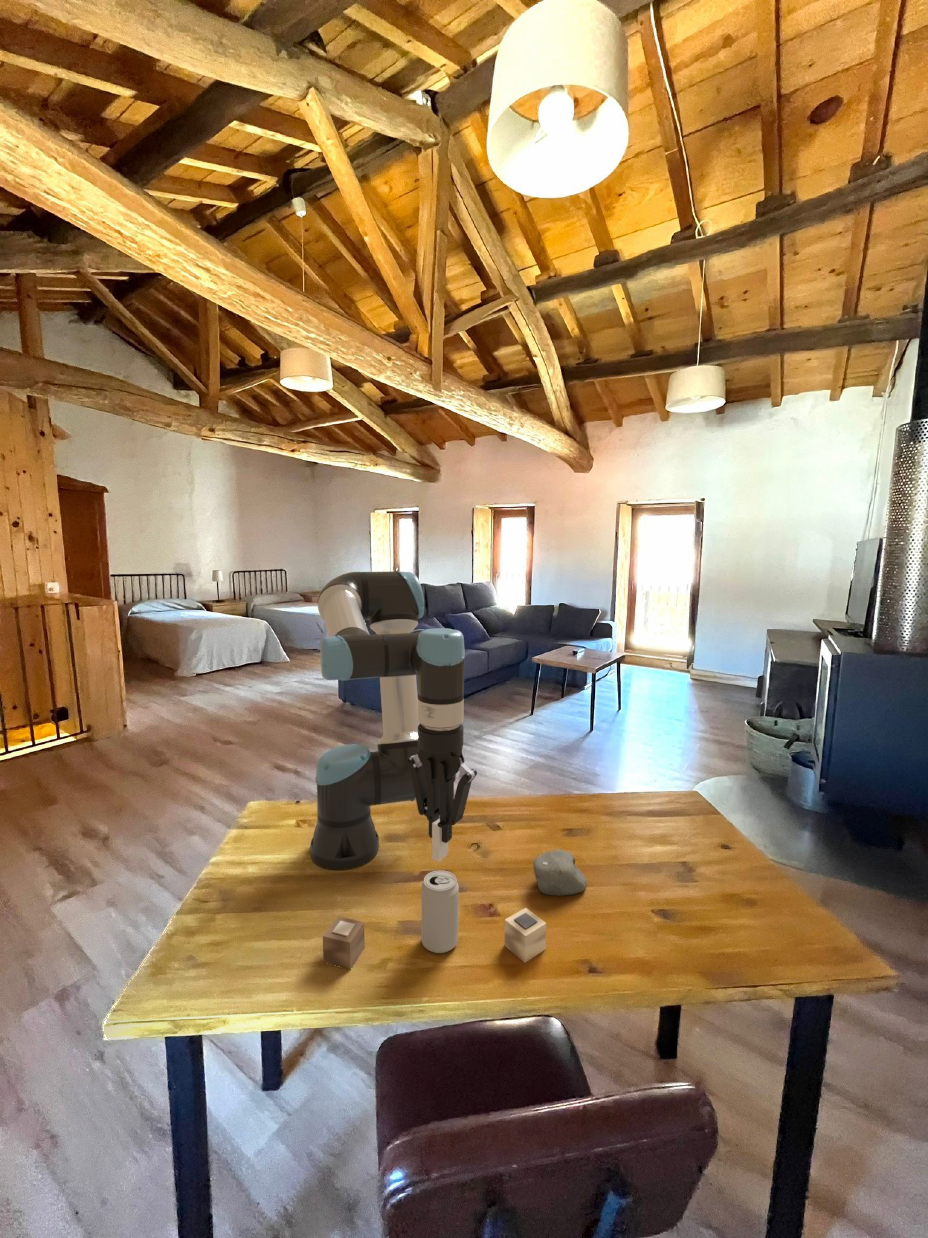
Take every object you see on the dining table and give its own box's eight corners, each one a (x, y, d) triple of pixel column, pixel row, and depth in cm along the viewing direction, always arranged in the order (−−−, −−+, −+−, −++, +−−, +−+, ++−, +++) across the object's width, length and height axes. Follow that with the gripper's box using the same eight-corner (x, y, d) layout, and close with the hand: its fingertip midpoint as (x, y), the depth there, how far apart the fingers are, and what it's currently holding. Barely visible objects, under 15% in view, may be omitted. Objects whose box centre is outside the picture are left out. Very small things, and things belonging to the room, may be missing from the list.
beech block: (504, 945, 94) (505, 918, 93) (525, 933, 97) (525, 906, 96) (524, 963, 90) (525, 935, 89) (545, 949, 93) (546, 922, 92)
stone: (594, 900, 106) (572, 858, 105) (552, 919, 106) (530, 877, 105) (584, 873, 115) (564, 833, 113) (546, 890, 115) (525, 851, 114)
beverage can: (421, 930, 97) (421, 869, 95) (456, 929, 98) (457, 867, 96) (421, 957, 91) (421, 892, 89) (459, 955, 91) (460, 890, 90)
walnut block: (323, 963, 89) (322, 935, 89) (338, 942, 94) (337, 915, 93) (350, 970, 88) (350, 941, 87) (364, 948, 93) (364, 921, 92)
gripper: (395, 722, 89) (396, 855, 92) (462, 738, 82) (460, 881, 85) (422, 710, 95) (422, 835, 98) (486, 724, 88) (484, 858, 92)
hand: (440, 856), depth 92 cm, fingers closed
